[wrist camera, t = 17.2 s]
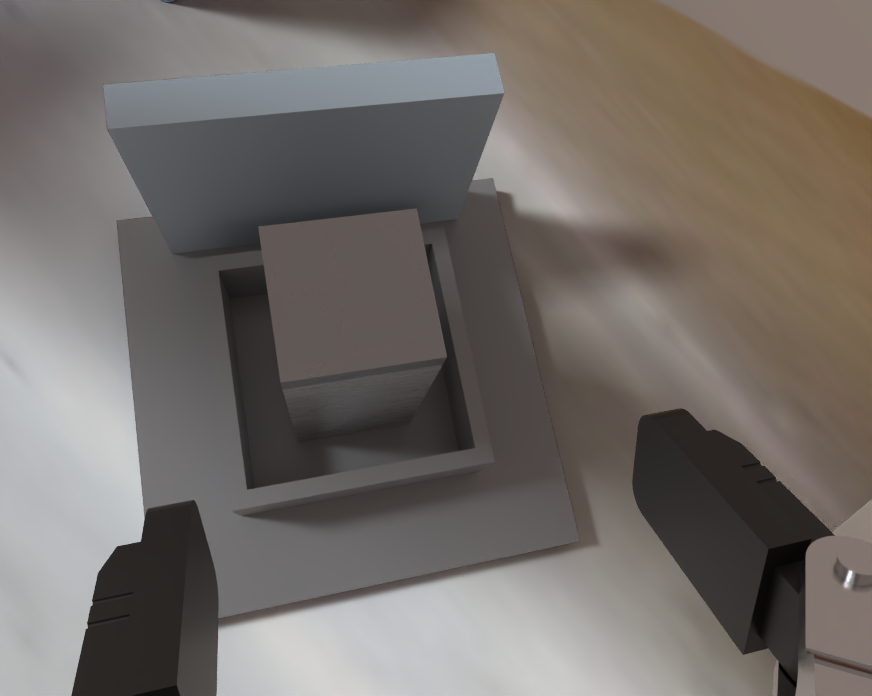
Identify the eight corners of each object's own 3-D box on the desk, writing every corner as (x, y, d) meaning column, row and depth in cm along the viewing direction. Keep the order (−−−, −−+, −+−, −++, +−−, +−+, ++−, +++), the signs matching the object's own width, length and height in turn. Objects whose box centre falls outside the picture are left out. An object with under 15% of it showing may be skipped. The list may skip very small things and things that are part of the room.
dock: (161, 629, 27) (67, 668, 17) (123, 231, 31) (29, 82, 21) (572, 541, 30) (686, 533, 20) (488, 188, 33) (550, 42, 24)
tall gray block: (297, 442, 28) (280, 382, 19) (282, 335, 29) (258, 226, 20) (409, 423, 29) (447, 356, 19) (389, 319, 30) (416, 208, 21)
